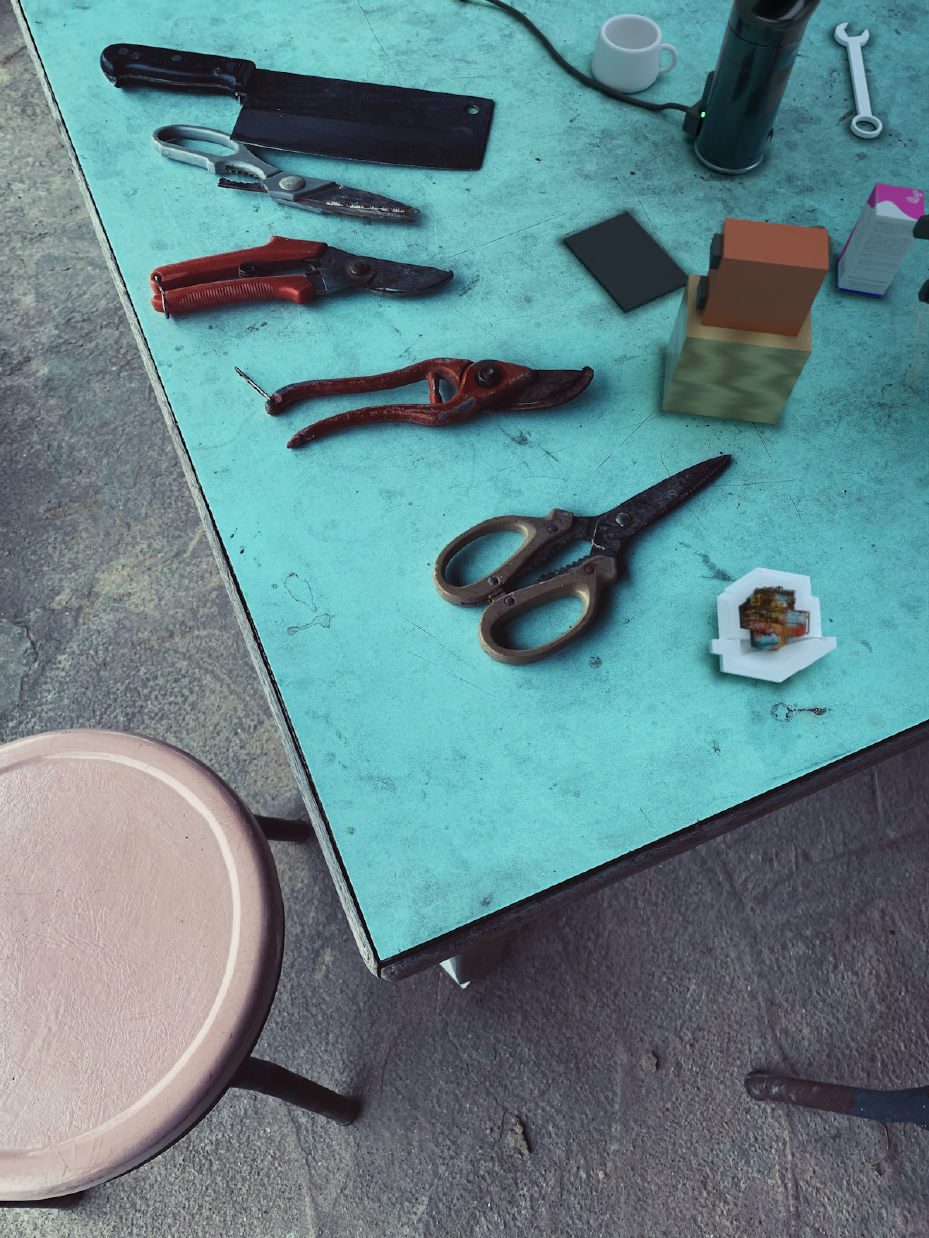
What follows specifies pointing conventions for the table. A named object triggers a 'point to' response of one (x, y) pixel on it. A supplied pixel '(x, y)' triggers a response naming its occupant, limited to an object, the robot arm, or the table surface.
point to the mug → (630, 53)
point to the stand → (730, 366)
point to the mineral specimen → (769, 626)
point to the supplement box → (879, 240)
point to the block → (762, 276)
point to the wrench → (858, 80)
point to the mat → (626, 261)
